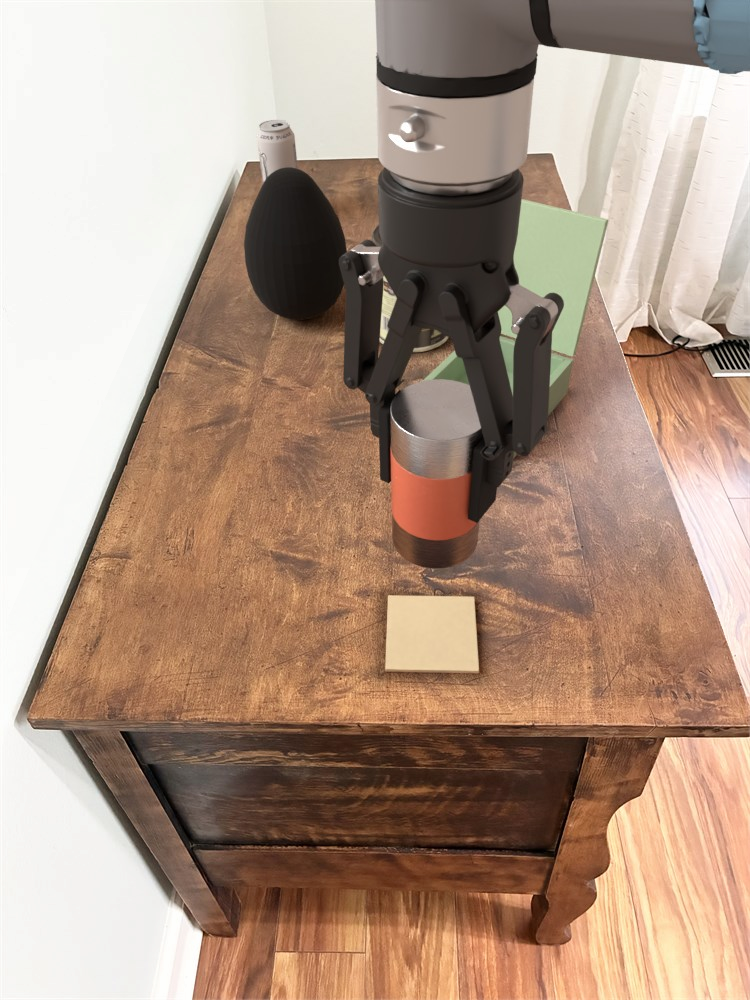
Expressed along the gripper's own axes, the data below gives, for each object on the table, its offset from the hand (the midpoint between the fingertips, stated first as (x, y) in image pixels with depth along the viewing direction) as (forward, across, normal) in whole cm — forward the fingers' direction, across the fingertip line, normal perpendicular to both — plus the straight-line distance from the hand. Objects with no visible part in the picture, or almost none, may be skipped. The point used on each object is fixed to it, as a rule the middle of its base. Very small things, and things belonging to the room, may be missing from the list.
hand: (436, 489), depth 55 cm
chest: (+18, -11, +32) cm, 38 cm away
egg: (+18, -44, +37) cm, 60 cm away
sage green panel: (+5, -11, +40) cm, 42 cm away
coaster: (+18, 0, 0) cm, 18 cm away
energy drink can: (+18, -66, +60) cm, 91 cm away
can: (+5, 0, 0) cm, 5 cm away
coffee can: (+18, -28, +41) cm, 53 cm away
